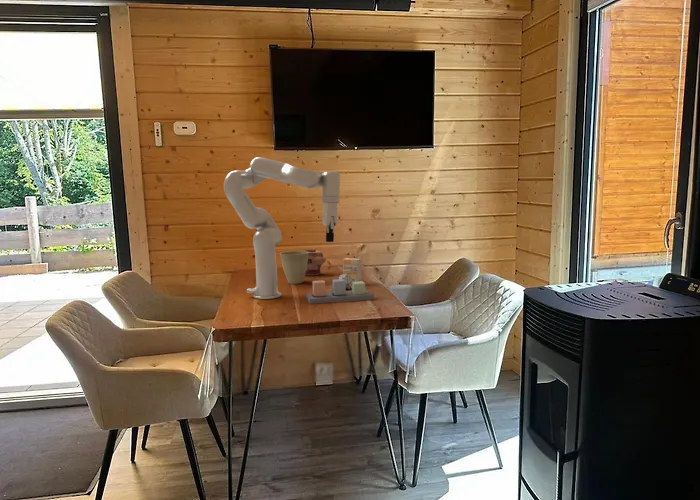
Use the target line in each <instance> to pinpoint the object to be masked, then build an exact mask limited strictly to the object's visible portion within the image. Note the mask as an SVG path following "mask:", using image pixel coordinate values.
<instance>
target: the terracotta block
mask: <svg viewBox="0 0 700 500" xmlns="http://www.w3.org/2000/svg"><path fill="white" fill-rule="evenodd" d="M326 292H327V291H326V281H325V280H324V279H323V280H321V279H320V280H312V293H313V295H314V296H326Z"/></svg>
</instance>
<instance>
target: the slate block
mask: <svg viewBox="0 0 700 500" xmlns="http://www.w3.org/2000/svg"><path fill="white" fill-rule="evenodd" d="M331 282H332V283H331V284H332V292H333V294H334V295H345V294H346V291H347V288H346V283H345V280H344V279H339V278H338V279H332V281H331Z"/></svg>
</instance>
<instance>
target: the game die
mask: <svg viewBox="0 0 700 500" xmlns="http://www.w3.org/2000/svg"><path fill="white" fill-rule="evenodd" d="M338 279H344V280H345V283H346V289H350V290H352V282H353V278H352V277H351V276H350V275H349V274H343V273H342V274H341V273H340V272H339V276H338ZM354 280H355V279H354Z"/></svg>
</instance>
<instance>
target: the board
mask: <svg viewBox="0 0 700 500" xmlns="http://www.w3.org/2000/svg"><path fill="white" fill-rule="evenodd" d="M305 295H306V297H305V298H306V300H307V302H308V303H309V304H310V305H313V304H314V305H315V304H325V303H326V304H327V303H341V302H343V303H344V302H355V301H356V302H357V301H371V300H374V295H373V294H372V293H371V292H370V291H368V290H367V289H365V294H359V295H353V294H352V290H346V294H345V295H334V294H333V291H326V296H314V295H313V292H309V293H306V294H305Z"/></svg>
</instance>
